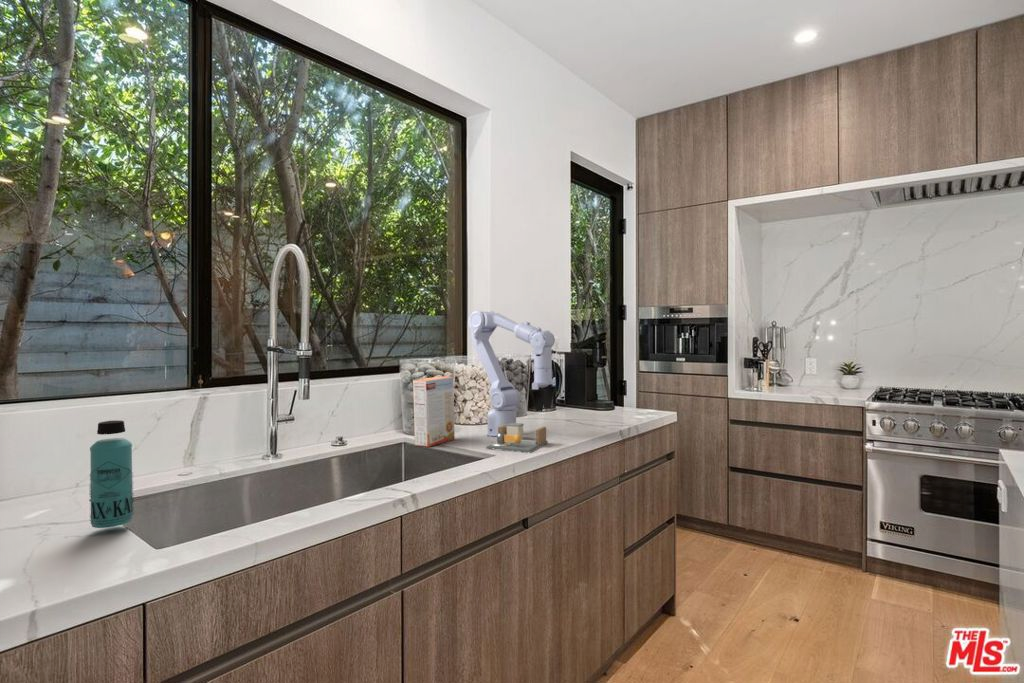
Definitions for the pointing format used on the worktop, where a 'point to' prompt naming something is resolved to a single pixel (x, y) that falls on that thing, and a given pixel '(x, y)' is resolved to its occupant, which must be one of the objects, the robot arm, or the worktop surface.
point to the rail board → (524, 441)
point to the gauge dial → (500, 441)
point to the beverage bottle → (111, 478)
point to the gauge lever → (512, 438)
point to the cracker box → (433, 410)
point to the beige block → (515, 429)
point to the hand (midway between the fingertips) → (543, 409)
